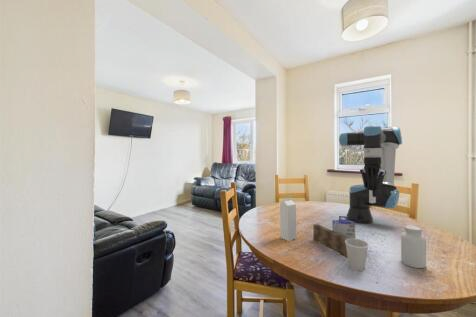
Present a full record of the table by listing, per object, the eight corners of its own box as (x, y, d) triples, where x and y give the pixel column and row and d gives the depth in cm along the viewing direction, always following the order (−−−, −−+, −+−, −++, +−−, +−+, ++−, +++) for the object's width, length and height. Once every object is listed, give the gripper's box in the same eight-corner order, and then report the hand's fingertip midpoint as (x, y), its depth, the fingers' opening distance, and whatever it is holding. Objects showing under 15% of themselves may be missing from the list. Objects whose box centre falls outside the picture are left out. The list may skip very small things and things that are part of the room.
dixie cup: (359, 260, 91) (359, 237, 91) (373, 271, 83) (373, 246, 82) (340, 262, 90) (340, 238, 90) (353, 273, 82) (353, 247, 81)
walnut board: (313, 239, 114) (313, 224, 114) (317, 238, 115) (317, 223, 114) (347, 258, 93) (346, 240, 93) (351, 257, 94) (351, 239, 94)
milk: (296, 239, 115) (296, 198, 114) (287, 241, 112) (287, 199, 111) (288, 235, 120) (288, 196, 119) (280, 237, 117) (279, 197, 116)
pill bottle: (396, 259, 91) (396, 224, 91) (413, 258, 92) (413, 223, 92) (412, 269, 84) (413, 231, 83) (431, 268, 84) (432, 230, 84)
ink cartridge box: (353, 245, 106) (353, 216, 105) (356, 250, 100) (356, 219, 100) (332, 243, 109) (331, 214, 108) (333, 247, 104) (333, 218, 103)
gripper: (355, 156, 114) (356, 200, 115) (379, 157, 101) (379, 206, 102) (366, 156, 116) (366, 199, 117) (390, 156, 104) (390, 204, 105)
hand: (372, 202), depth 110 cm, fingers closed
